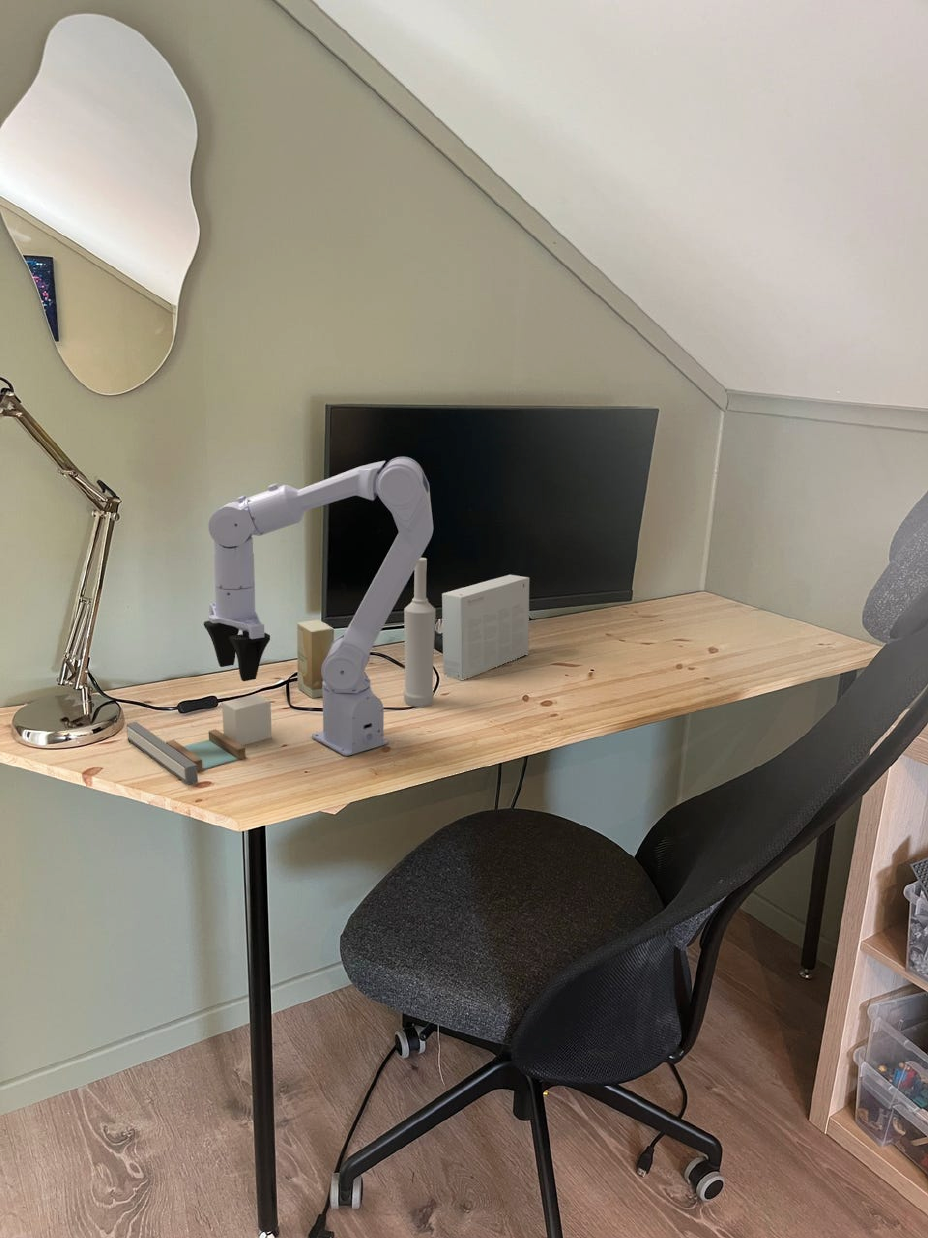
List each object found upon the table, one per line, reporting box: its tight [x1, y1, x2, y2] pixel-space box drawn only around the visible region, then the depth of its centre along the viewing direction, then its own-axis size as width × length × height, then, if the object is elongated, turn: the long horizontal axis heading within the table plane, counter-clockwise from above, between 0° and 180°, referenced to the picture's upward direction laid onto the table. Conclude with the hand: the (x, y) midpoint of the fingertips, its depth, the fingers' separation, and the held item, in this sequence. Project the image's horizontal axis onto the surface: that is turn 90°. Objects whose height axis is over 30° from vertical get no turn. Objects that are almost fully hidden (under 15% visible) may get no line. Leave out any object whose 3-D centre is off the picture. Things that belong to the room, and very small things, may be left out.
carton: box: [221, 693, 272, 746], centre depth 148 cm, size 4×6×6 cm
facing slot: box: [165, 728, 246, 773], centre depth 142 cm, size 9×8×2 cm
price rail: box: [126, 721, 199, 785], centre depth 140 cm, size 20×2×2 cm, turn 41°
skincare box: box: [296, 619, 335, 699], centre depth 168 cm, size 6×4×12 cm
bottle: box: [403, 557, 436, 708], centre depth 162 cm, size 5×5×25 cm
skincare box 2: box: [441, 574, 530, 679], centre depth 184 cm, size 21×5×16 cm, turn 141°
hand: (237, 672), depth 146 cm, fingers open, 7 cm apart
